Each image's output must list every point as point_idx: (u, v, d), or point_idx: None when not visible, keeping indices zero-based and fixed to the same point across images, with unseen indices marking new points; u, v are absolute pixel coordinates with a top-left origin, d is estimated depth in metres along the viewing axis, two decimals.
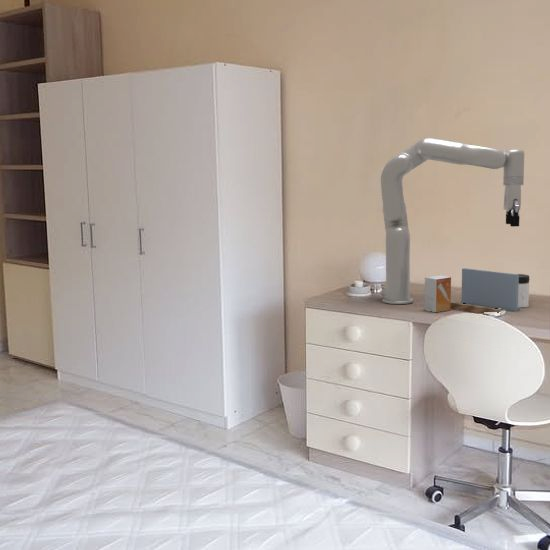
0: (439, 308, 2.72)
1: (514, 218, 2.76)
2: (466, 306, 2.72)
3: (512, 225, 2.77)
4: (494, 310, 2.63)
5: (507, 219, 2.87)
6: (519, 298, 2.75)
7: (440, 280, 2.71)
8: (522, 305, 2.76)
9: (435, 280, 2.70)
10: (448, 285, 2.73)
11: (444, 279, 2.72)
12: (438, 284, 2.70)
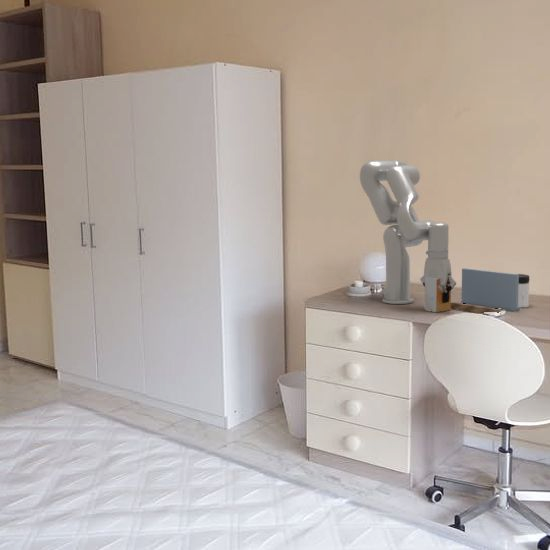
0: (439, 308, 2.72)
1: (447, 294, 2.71)
2: (466, 306, 2.72)
3: (444, 301, 2.72)
4: (494, 310, 2.63)
5: None
6: (519, 298, 2.75)
7: None
8: (522, 305, 2.76)
9: (435, 280, 2.70)
10: None
11: None
12: (438, 284, 2.70)
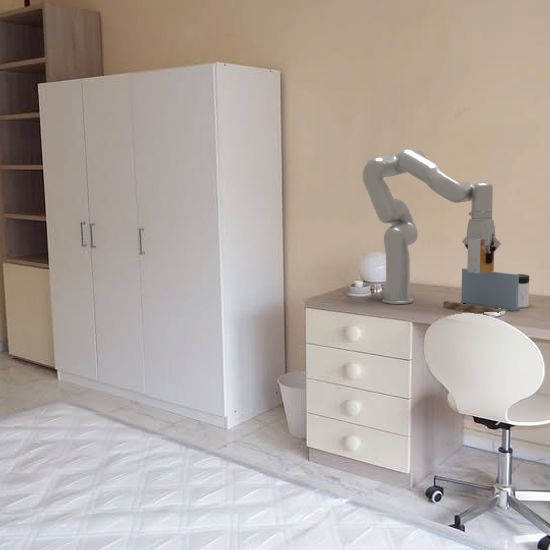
0: (483, 269, 2.70)
1: (491, 255, 2.69)
2: (466, 306, 2.72)
3: (488, 262, 2.69)
4: (494, 310, 2.63)
5: None
6: (519, 298, 2.75)
7: None
8: (522, 305, 2.76)
9: (479, 240, 2.67)
10: None
11: None
12: (482, 244, 2.68)
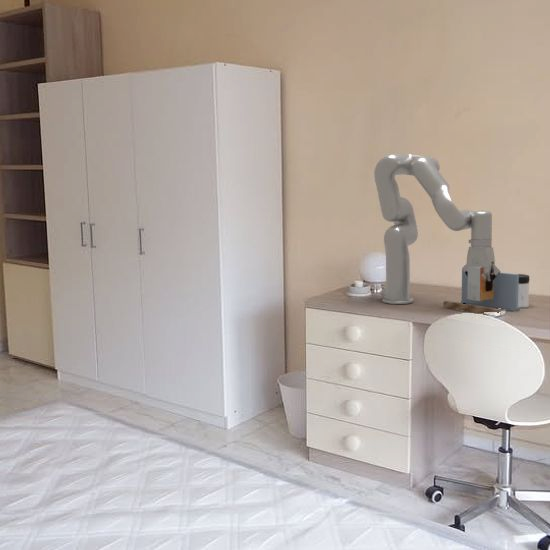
0: (483, 297, 2.71)
1: (491, 283, 2.70)
2: (466, 306, 2.72)
3: (488, 290, 2.71)
4: (494, 310, 2.63)
5: None
6: (519, 298, 2.75)
7: None
8: (522, 305, 2.76)
9: (479, 268, 2.69)
10: None
11: None
12: (482, 272, 2.69)
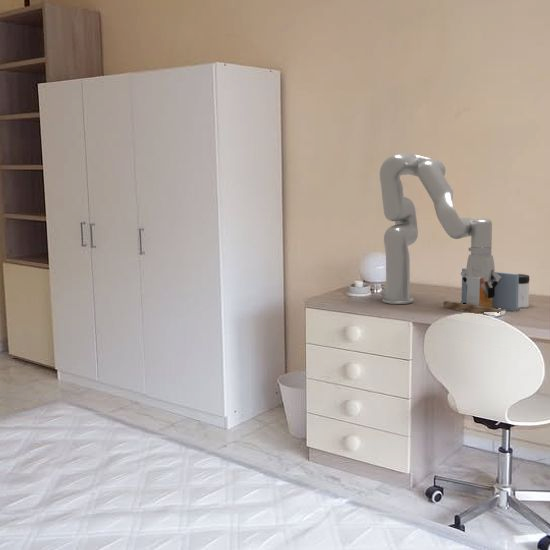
0: None
1: (493, 289, 2.70)
2: (466, 306, 2.72)
3: (490, 297, 2.70)
4: (494, 310, 2.63)
5: None
6: (519, 298, 2.75)
7: None
8: (522, 305, 2.76)
9: (478, 279, 2.70)
10: None
11: None
12: (482, 283, 2.70)
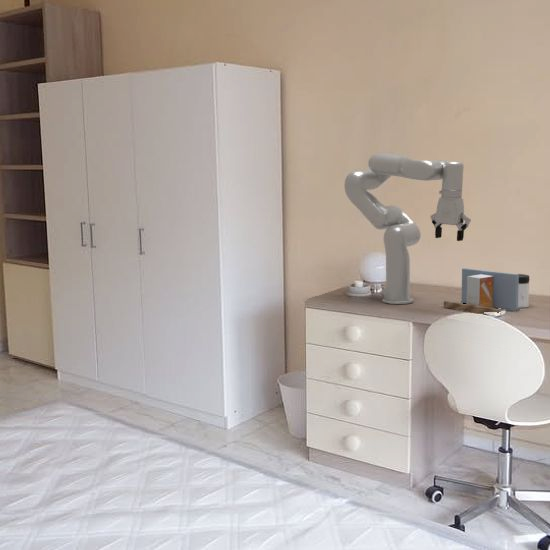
0: None
1: (462, 232, 2.70)
2: (466, 306, 2.72)
3: (459, 239, 2.70)
4: (494, 310, 2.63)
5: (437, 233, 2.77)
6: (519, 298, 2.75)
7: (483, 279, 2.70)
8: (522, 305, 2.76)
9: (478, 279, 2.70)
10: (490, 284, 2.73)
11: (487, 278, 2.71)
12: (482, 283, 2.70)
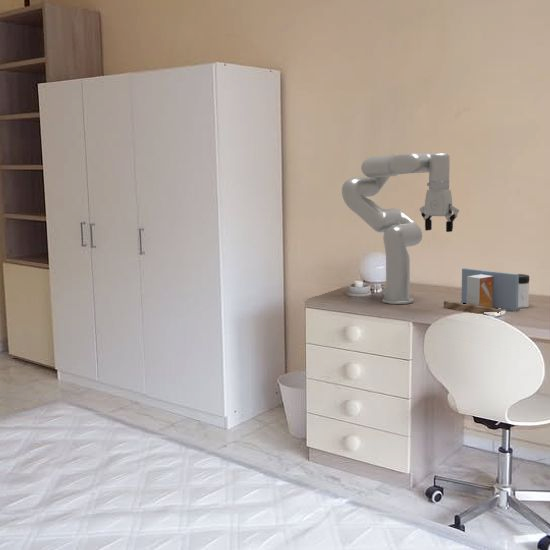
0: None
1: (451, 223, 2.70)
2: (466, 306, 2.72)
3: (448, 230, 2.70)
4: (494, 310, 2.63)
5: (427, 225, 2.77)
6: (519, 298, 2.75)
7: (483, 279, 2.70)
8: (522, 305, 2.76)
9: (478, 279, 2.70)
10: (490, 284, 2.73)
11: (487, 278, 2.71)
12: (481, 283, 2.70)
